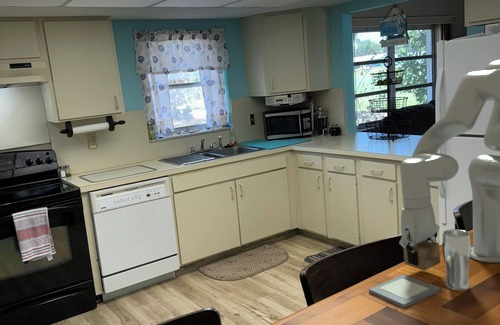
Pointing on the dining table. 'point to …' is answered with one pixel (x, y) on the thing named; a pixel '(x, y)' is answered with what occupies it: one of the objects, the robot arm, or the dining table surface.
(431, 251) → the walnut block
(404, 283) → the board
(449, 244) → the metal cup
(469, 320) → the dining table surface
